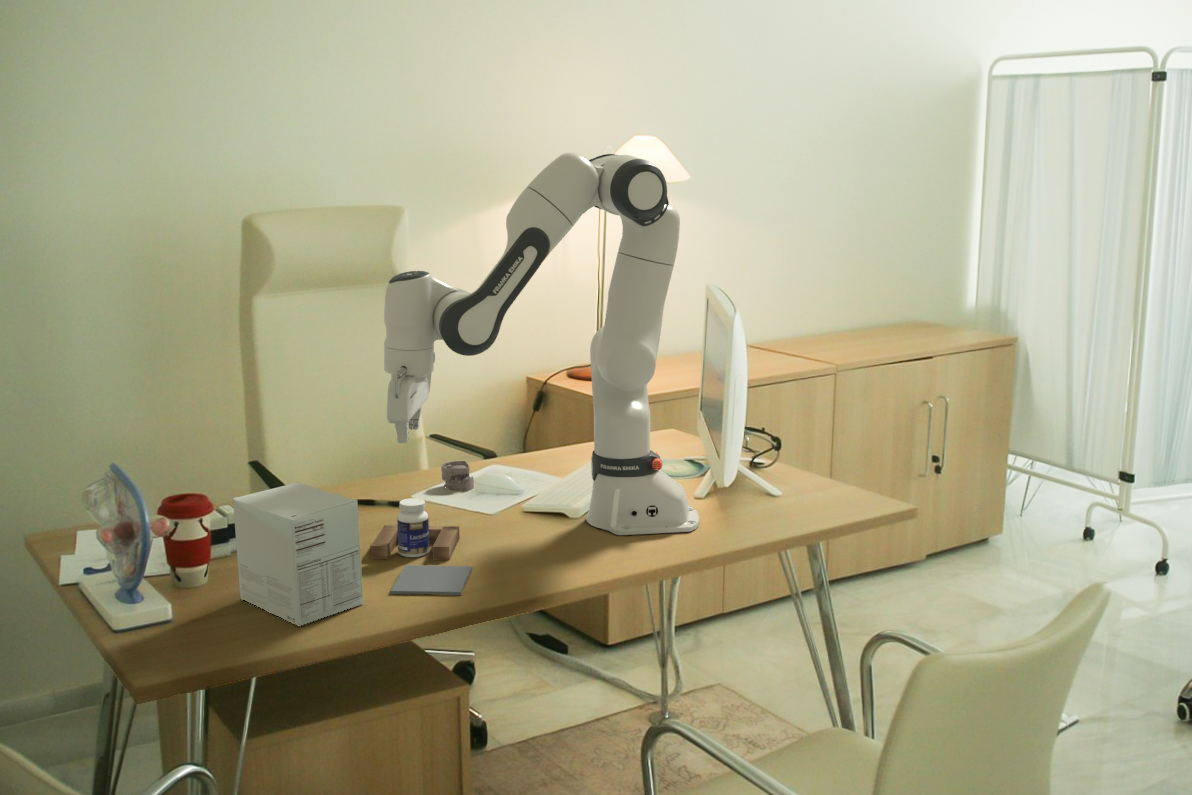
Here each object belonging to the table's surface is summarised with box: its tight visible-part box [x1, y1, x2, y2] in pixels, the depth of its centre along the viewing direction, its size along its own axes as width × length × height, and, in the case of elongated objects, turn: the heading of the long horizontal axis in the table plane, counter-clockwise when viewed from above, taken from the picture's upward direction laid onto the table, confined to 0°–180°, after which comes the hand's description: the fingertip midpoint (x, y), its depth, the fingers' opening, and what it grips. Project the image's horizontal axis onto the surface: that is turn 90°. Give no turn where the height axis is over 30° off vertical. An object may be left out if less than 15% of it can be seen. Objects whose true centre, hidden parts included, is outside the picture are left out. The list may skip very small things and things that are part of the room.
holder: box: [370, 524, 461, 561], centre depth 222 cm, size 14×12×2 cm
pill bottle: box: [396, 497, 430, 558], centre depth 218 cm, size 6×6×10 cm
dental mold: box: [440, 460, 475, 492], centre depth 260 cm, size 8×7×5 cm
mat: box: [390, 564, 473, 596], centre depth 206 cm, size 12×12×1 cm
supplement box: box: [232, 481, 364, 626], centre depth 195 cm, size 17×13×18 cm
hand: (408, 435), depth 217 cm, fingers open, 8 cm apart
